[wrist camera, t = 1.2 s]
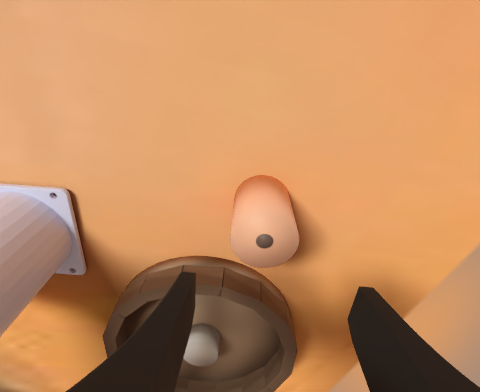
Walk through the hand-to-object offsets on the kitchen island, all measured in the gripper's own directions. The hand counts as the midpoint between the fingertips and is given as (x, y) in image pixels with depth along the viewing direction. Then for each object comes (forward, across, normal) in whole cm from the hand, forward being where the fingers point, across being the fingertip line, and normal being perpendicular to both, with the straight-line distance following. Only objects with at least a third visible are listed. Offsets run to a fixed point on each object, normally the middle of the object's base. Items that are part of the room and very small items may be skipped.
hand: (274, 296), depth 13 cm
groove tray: (+9, +4, +14) cm, 17 cm away
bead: (+10, 0, 0) cm, 10 cm away
